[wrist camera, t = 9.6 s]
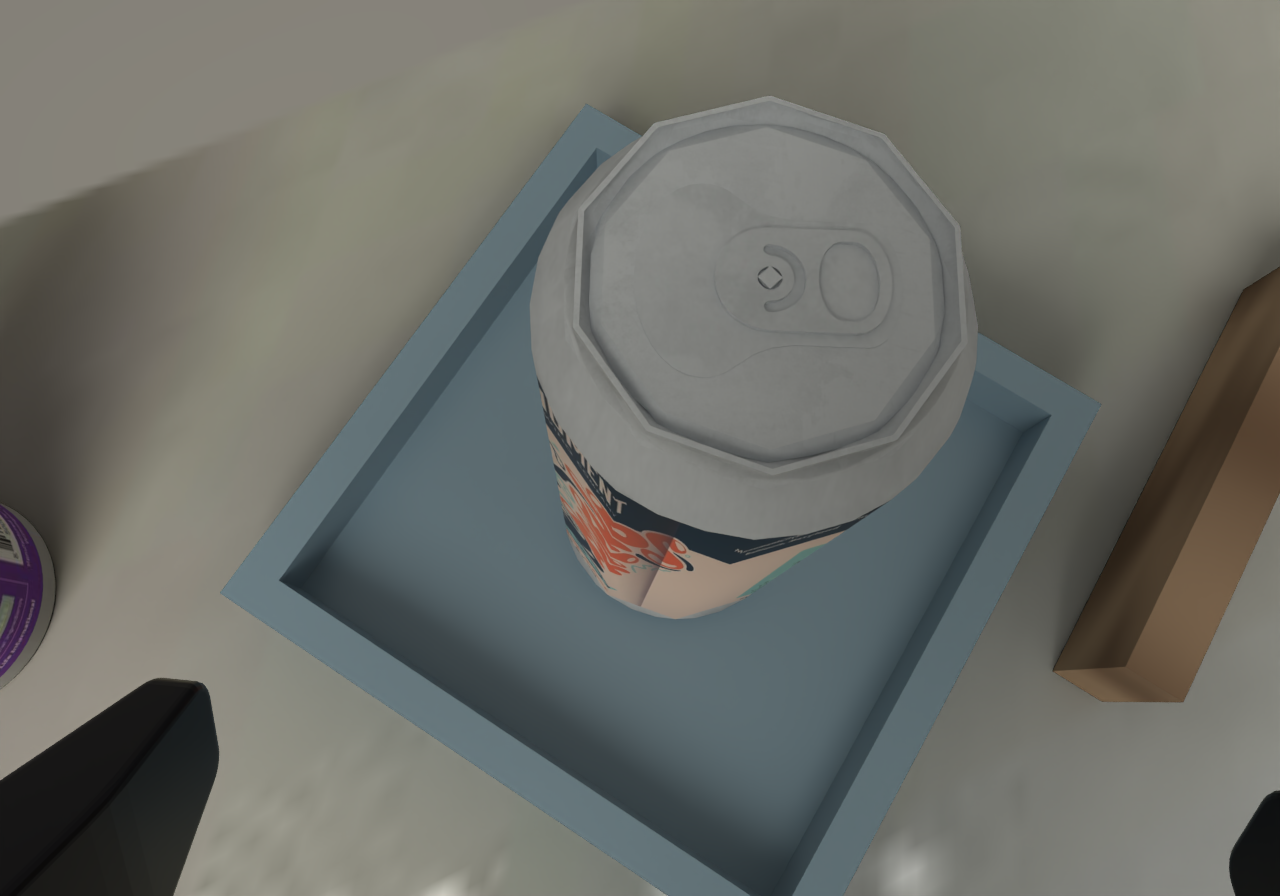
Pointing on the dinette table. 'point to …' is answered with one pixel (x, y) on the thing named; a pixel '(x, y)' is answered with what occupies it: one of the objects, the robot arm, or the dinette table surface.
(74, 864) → the robot arm
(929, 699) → the tray
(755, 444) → the beer can
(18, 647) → the container
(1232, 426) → the frame
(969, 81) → the dinette table surface
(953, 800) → the dinette table surface
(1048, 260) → the dinette table surface
